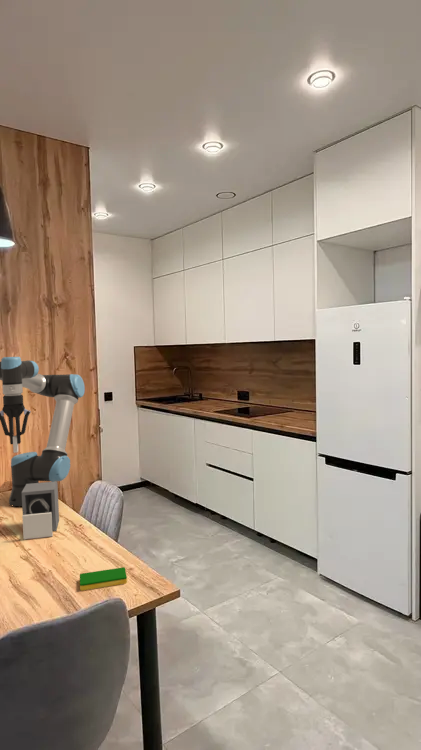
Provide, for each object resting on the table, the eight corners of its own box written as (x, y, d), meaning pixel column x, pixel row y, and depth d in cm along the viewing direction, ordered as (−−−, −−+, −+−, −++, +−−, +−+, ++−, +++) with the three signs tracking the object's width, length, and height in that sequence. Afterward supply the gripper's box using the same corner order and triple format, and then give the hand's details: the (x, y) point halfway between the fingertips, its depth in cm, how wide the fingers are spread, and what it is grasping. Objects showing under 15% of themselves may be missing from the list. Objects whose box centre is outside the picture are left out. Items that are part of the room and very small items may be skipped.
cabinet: (28, 523, 197) (26, 483, 196) (59, 520, 199) (57, 481, 198) (23, 534, 185) (21, 492, 184) (56, 530, 188) (54, 489, 187)
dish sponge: (80, 581, 147) (79, 573, 147) (124, 574, 151) (124, 566, 151) (80, 592, 141) (79, 584, 140) (127, 584, 144) (126, 577, 144)
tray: (30, 523, 195) (29, 502, 195) (56, 521, 198) (55, 499, 197) (23, 539, 179) (22, 516, 179) (52, 536, 182) (51, 513, 181)
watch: (52, 525, 190) (50, 498, 189) (31, 530, 185) (29, 502, 185) (47, 521, 195) (46, 494, 194) (27, 525, 190) (26, 499, 189)
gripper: (-7, 396, 188) (-4, 455, 189) (28, 394, 191) (31, 452, 192) (-3, 394, 195) (1, 451, 196) (31, 393, 198) (34, 448, 199)
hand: (16, 451), depth 194 cm, fingers closed
